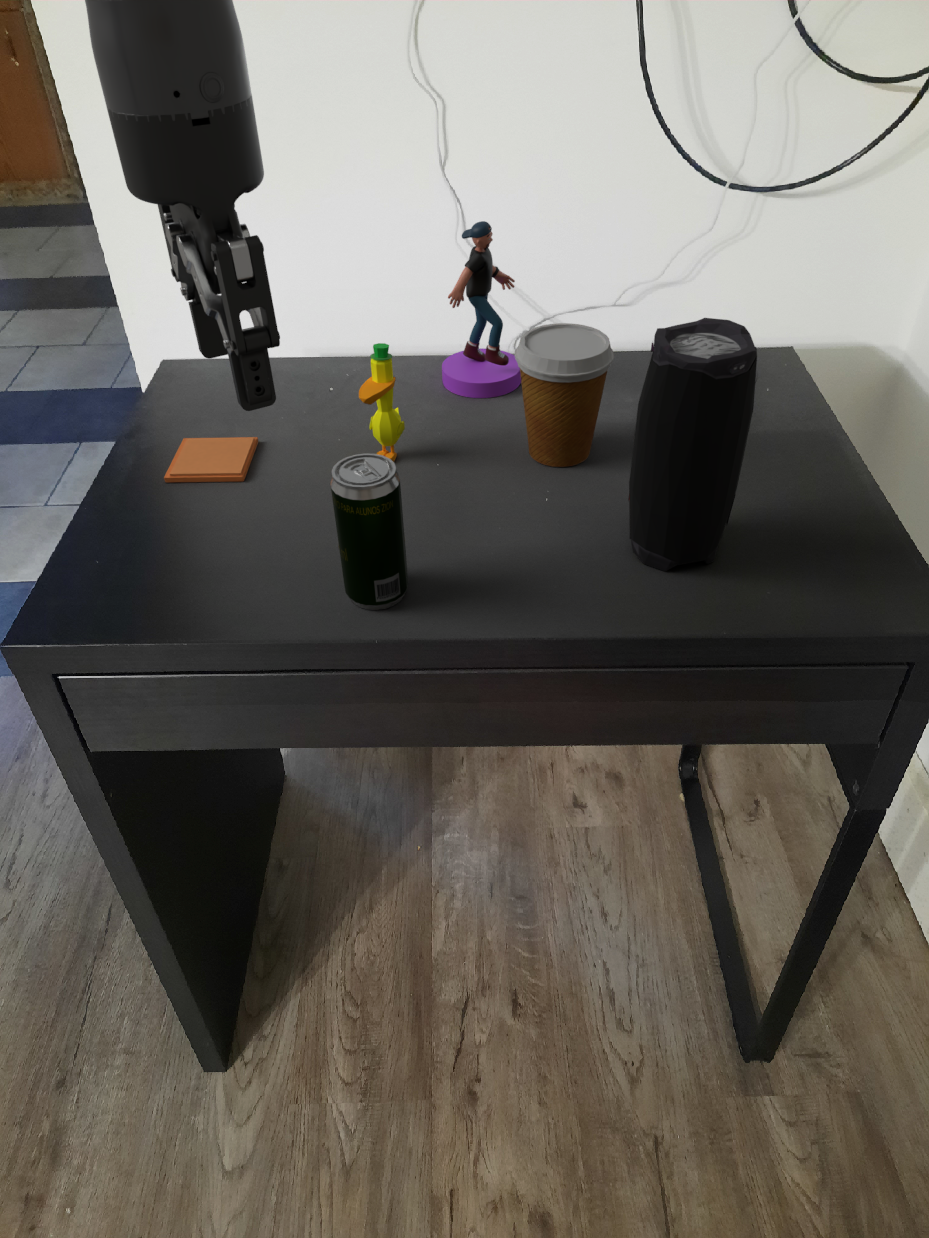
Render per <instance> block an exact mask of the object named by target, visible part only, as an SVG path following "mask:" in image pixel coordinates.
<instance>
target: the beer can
mask: <svg viewBox="0 0 929 1238" xmlns="http://www.w3.org/2000/svg"><path fill="white" fill-rule="evenodd" d="M331 476H332V477H331V480H330V483H329V485H330V491H331V499H332V506H333V507H332V508H333V514H334V520H335V521H334V522H335V528H336V534H337V542H338V550H339V558H340V564H341V571H342V579H343V586H344V587H343V588H344V592H345V594H346V596H347V597H348V598H349V600H350V601H351V602H352V603H353V605H355V606H357V607H359V609H360V608H361V609H364V610H368V611H381V610H386V609H388V608H391V607H394V606H396V605H397V604H398V603H399V602H401V601H402V599H403V598H404V597H405V594H406V593H407V590H408V587H409V575H408V564H407V563H408V561H407V549H406V539H405V537H406V535H405V526H404V512H403V511H404V510H403V499H402V487H401V479H400V475H399V473H398V471H397V466H396V463H395V461H394V462H393V461H392V460H391V459H389V458H387V457H385V456H383V455H378V454H377V453H358V454H353V455H349V456H346V457H344V458H342V459H341V460H338V461H337V463H335V464H334V465H333V467H332V469H331Z"/></svg>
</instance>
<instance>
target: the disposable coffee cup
mask: <svg viewBox="0 0 929 1238" xmlns="http://www.w3.org/2000/svg"><path fill="white" fill-rule="evenodd" d="M514 356H515V359H516V361H517V363H518V367H519V368H520V374H521V383H520V384H521V392H522V401H523V409H524V419H525V425H526V426H525V427H526V436H527V445H528V454H529V456H530V458H531V459H533V460H534V461H535V462H537V463H538V464H541V465H545V466H547V467H556V468H566V467H567V468H568V467H573V466H577V465H579V464H581V463H583V462H585V461H586V460H587V459H588V458H589V456H590V453H591V449H592V445H593V440H594V435H595V431H596V426H597V421H598V417H599V412H600V407H601V403H602V398H603V393H604V388H605V384H606V380H607V375H608V370H609V369H610V367H611V365H612V363H613V362H614V358H615V352H614V350H613V349H612V347H611V341H610V338H609V336H608V335H607V334H606V333H604V332H603V331H601V330H600V329H598V328H595V327H592V326H589V325H585V324H579V323H568V322H560V323H558V322H557V323H549V324H543V325H539V326H536V327H533V328H530V329H529V330H526V331H525V332H524V333H523V334H522V335H521V337H520V339H519V343H518V346H517V347H516V348H515V350H514Z"/></svg>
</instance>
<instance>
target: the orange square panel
mask: <svg viewBox="0 0 929 1238" xmlns="http://www.w3.org/2000/svg"><path fill="white" fill-rule="evenodd" d="M258 444H259V437H257V436H249V437H248V436H242V437H241V436H239V437H234V436H233V437H183V439H182V441H181V443H180V445H179V446H178V449H177V450H176V453H175V454H174V457H173V458H172V460H171V463H170V465H169V467H168V469H167V470H166V472H165V475H164V477H163V479H164V483H223V482H224V483H226V482H228V483H229V482H230V483H232V482H244V481H245V479H246V477H247V474H248V471H249V470H250V469H249V468H250V466H251V463H252V460H253V458H254V455H255V453H256V449H257V447H258Z"/></svg>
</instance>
